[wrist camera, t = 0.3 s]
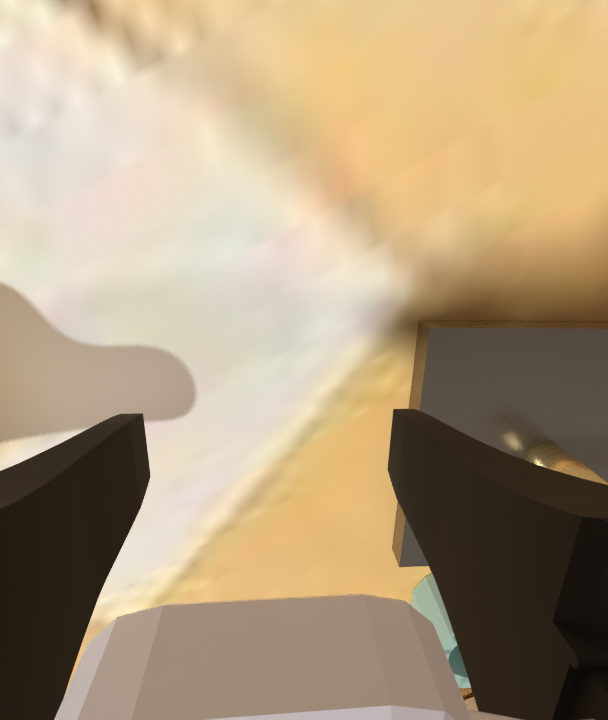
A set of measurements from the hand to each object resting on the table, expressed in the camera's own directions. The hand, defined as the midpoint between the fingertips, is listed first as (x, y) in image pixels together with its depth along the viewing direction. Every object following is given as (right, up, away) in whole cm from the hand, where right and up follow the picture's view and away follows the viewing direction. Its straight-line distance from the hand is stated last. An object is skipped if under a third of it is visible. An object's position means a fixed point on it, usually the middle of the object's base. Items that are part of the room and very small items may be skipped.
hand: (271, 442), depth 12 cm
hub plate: (+14, -3, +12) cm, 19 cm away
